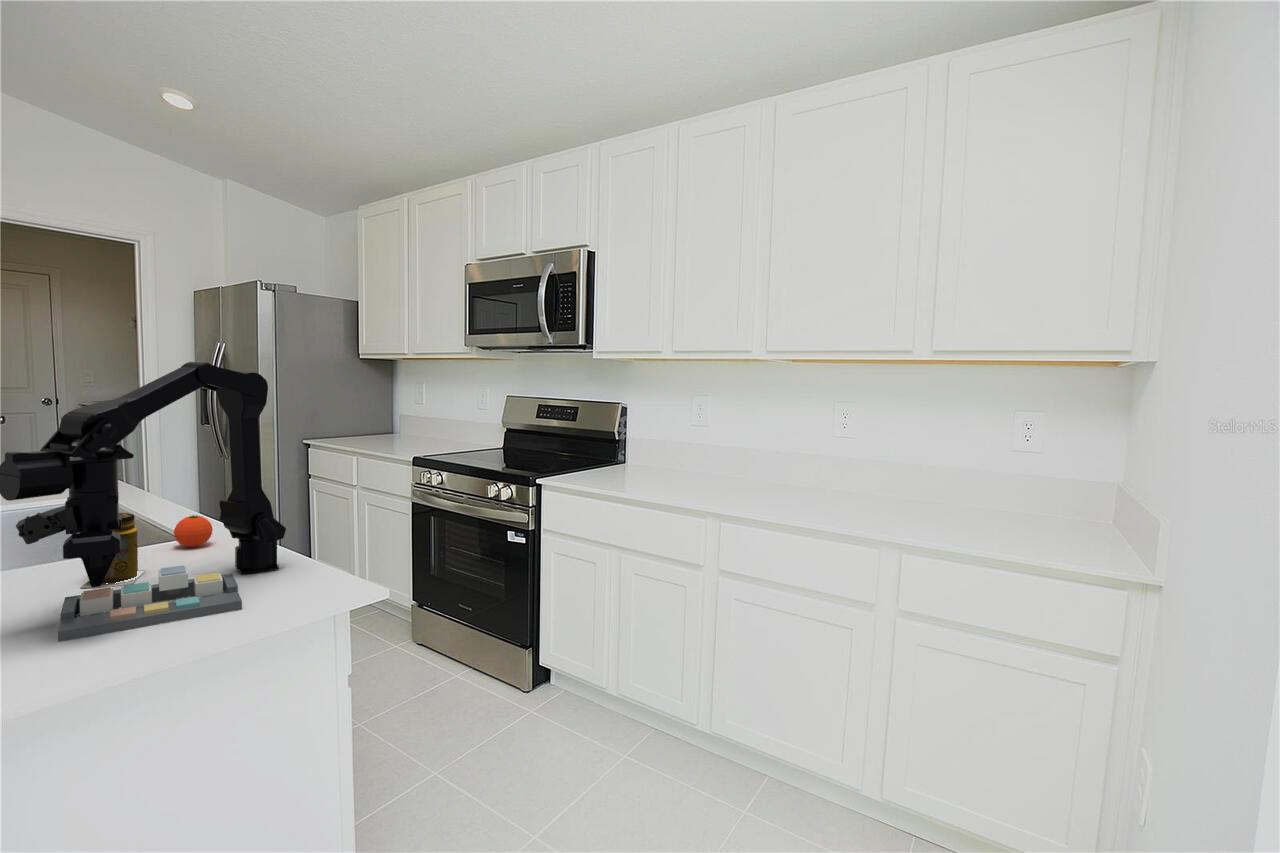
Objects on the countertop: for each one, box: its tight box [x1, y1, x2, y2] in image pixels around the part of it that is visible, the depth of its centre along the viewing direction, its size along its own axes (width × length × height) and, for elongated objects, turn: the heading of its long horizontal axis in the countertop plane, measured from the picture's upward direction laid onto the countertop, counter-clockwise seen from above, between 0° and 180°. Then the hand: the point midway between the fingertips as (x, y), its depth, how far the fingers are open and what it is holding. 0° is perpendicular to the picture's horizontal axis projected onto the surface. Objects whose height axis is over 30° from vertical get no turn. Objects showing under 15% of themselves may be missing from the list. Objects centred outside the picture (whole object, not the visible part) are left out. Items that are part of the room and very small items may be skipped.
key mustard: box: [193, 572, 224, 598], centre depth 105 cm, size 4×4×4 cm
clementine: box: [173, 514, 214, 548], centre depth 133 cm, size 8×7×7 cm
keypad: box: [57, 572, 243, 642], centre depth 99 cm, size 22×13×2 cm, turn 130°
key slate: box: [157, 564, 189, 595], centre depth 101 cm, size 4×4×4 cm
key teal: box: [120, 581, 153, 609], centre depth 98 cm, size 4×4×4 cm
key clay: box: [79, 586, 114, 617], centre depth 95 cm, size 4×4×4 cm
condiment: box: [80, 512, 146, 588], centre depth 111 cm, size 7×8×12 cm
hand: (96, 586), depth 95 cm, fingers closed
